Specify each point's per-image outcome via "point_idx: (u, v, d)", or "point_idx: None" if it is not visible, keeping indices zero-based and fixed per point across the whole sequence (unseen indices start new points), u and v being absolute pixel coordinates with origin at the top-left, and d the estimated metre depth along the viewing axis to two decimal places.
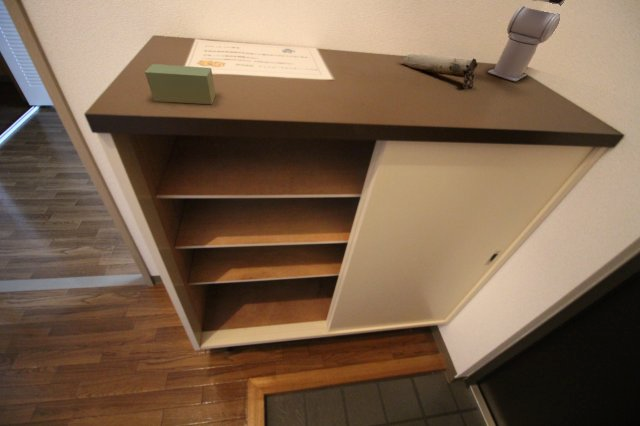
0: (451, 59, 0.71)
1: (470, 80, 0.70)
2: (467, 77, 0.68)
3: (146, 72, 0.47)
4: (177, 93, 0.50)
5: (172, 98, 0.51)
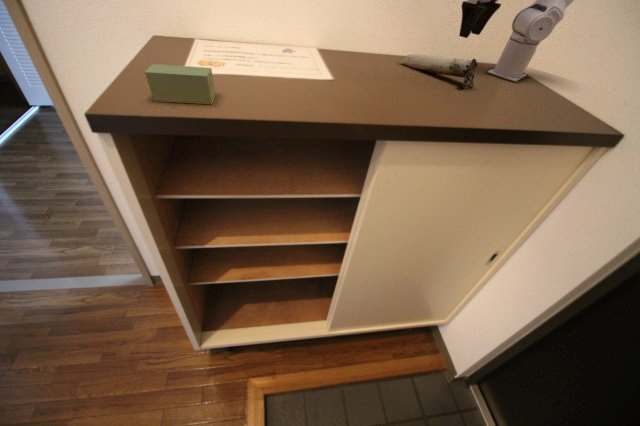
0: (451, 59, 0.71)
1: (470, 80, 0.70)
2: (467, 77, 0.68)
3: (146, 72, 0.47)
4: (177, 93, 0.50)
5: (172, 98, 0.51)
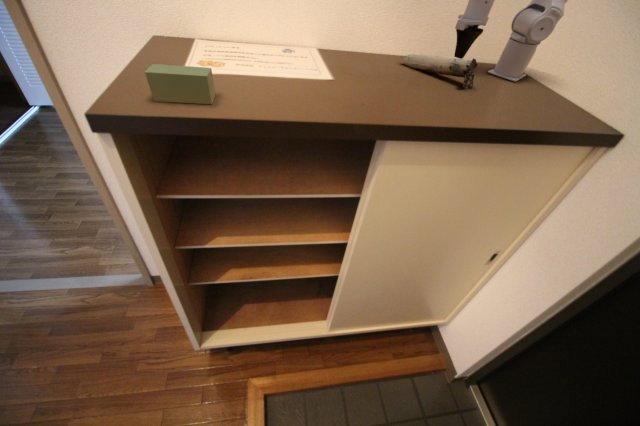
0: (451, 59, 0.71)
1: (470, 80, 0.70)
2: (467, 77, 0.68)
3: (146, 72, 0.47)
4: (177, 93, 0.50)
5: (172, 98, 0.51)
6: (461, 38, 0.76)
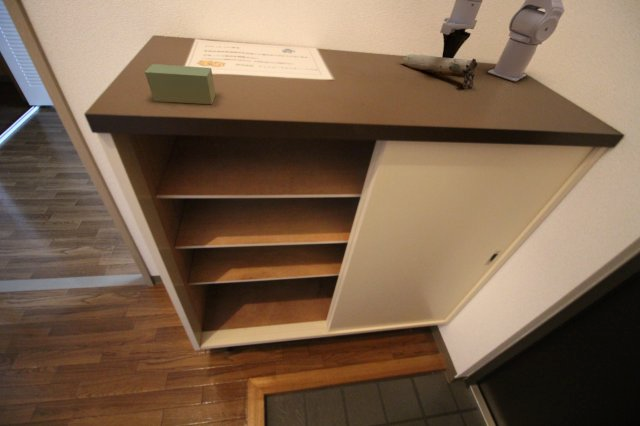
0: (451, 59, 0.71)
1: (470, 80, 0.70)
2: (467, 77, 0.68)
3: (146, 72, 0.47)
4: (177, 93, 0.50)
5: (172, 98, 0.51)
6: (448, 42, 0.72)
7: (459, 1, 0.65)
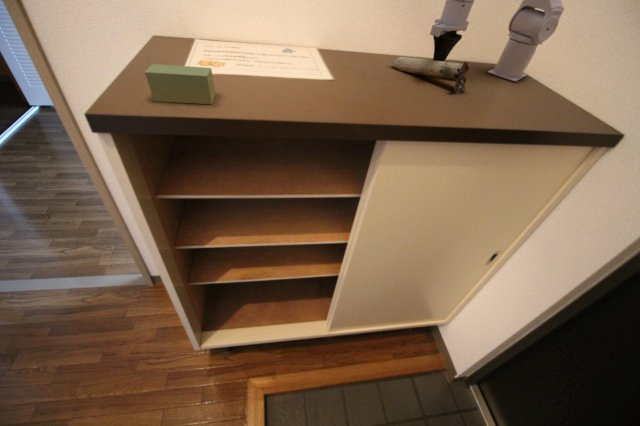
0: (442, 62, 0.68)
1: (462, 84, 0.67)
2: (458, 81, 0.65)
3: (146, 72, 0.47)
4: (177, 93, 0.50)
5: (172, 98, 0.51)
6: (439, 45, 0.69)
7: (449, 2, 0.62)
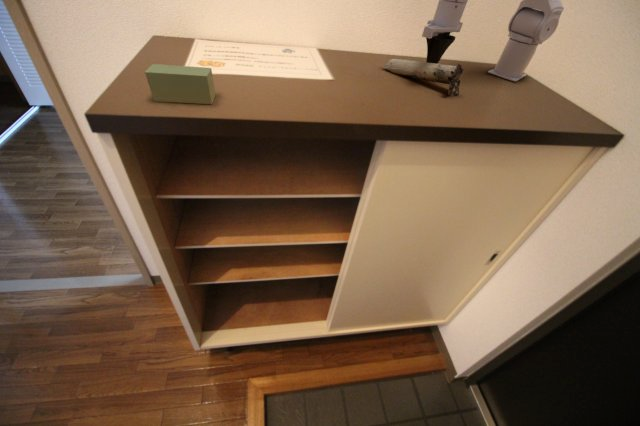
0: (435, 64, 0.66)
1: (456, 87, 0.66)
2: (452, 84, 0.64)
3: (146, 72, 0.47)
4: (177, 93, 0.50)
5: (172, 98, 0.51)
6: (432, 46, 0.67)
7: (442, 3, 0.60)
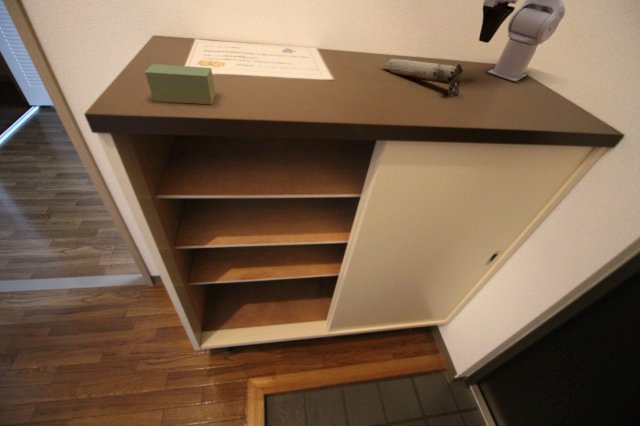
0: (435, 64, 0.66)
1: (455, 87, 0.65)
2: (452, 84, 0.64)
3: (146, 72, 0.47)
4: (177, 93, 0.50)
5: (172, 98, 0.51)
6: (488, 18, 0.65)
7: None
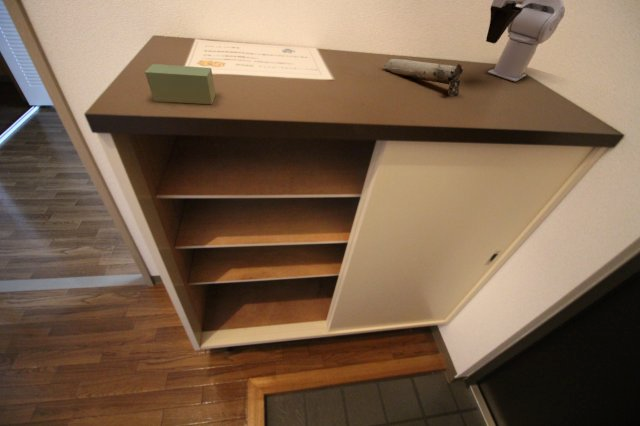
0: (435, 64, 0.66)
1: (455, 87, 0.65)
2: (452, 84, 0.64)
3: (146, 72, 0.47)
4: (177, 93, 0.50)
5: (172, 98, 0.51)
6: (495, 19, 0.65)
7: None
